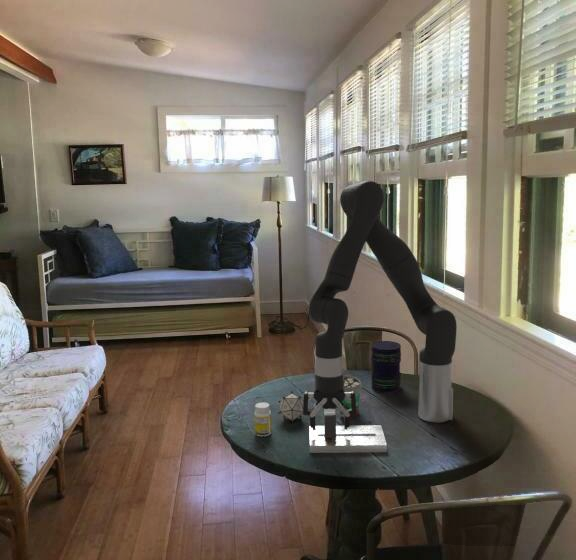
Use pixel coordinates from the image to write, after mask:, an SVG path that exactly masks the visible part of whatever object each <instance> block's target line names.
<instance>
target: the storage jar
mask: <svg viewBox="0 0 576 560" xmlns="http://www.w3.org/2000/svg"><path fill="white" fill-rule="evenodd" d="M401 349H402V347H401V343H399V342H398V341H397V342H396V341H392V340H379V341H378V340H377V341H374V342H372V343H371V352H370V356H371V357H370V359H371V372H370V373H371V374H370V376H371V377H370V381H371V383H370V384H371V387H370V388H371V389H372V391H375V392H377V393H382V394H383V393H384V394H392V393H397V392H399V391H400V390H401V382H402V381H401V380H402V377H401V376H402V374H401V360H402V358H401V357H402V352H401Z"/></svg>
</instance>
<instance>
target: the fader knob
mask: <svg viewBox="0 0 576 560" xmlns="http://www.w3.org/2000/svg"><path fill="white" fill-rule="evenodd" d="M323 426H324V434H325V438H336V426H337V416H336V409H332V408H328V409H324V408H323Z"/></svg>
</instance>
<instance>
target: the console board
mask: <svg viewBox="0 0 576 560" xmlns="http://www.w3.org/2000/svg"><path fill="white" fill-rule="evenodd" d="M308 430H309V453H310V454H316V453H317V454H318V453H319V454H320V453H322V454H325V453H326V454H327V453H328V454H330V453H333V454H335V453H338V454H339V453H341V454H342V453H344V454H346V453H348V454H349V453H350V454H351V453H387V452H388V444H387V440H386V438H385V434H384V431H383V428H382V425H381V424H380V425H378V424H377V425H376V424H375V425H374V424H373V425H372V424H371V425H369V424H367V425H363V424H362V425H356V424H355V425H350V426H349V427H347V430H345V429H344V425H336V438H325V434H324V425H315V430H313V428H311V427H310V425H309V428H308Z"/></svg>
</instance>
